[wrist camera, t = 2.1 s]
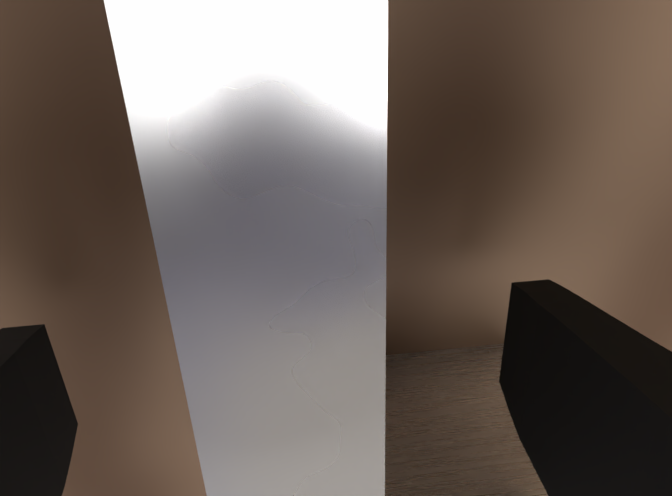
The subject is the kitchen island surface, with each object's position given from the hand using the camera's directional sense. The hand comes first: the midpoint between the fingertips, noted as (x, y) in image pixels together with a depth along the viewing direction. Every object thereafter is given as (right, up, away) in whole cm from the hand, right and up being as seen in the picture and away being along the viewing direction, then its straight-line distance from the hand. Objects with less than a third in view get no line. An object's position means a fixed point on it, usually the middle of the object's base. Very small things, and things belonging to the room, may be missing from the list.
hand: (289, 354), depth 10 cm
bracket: (+2, +2, +2) cm, 3 cm away
